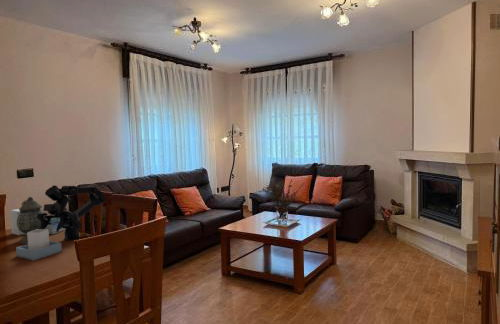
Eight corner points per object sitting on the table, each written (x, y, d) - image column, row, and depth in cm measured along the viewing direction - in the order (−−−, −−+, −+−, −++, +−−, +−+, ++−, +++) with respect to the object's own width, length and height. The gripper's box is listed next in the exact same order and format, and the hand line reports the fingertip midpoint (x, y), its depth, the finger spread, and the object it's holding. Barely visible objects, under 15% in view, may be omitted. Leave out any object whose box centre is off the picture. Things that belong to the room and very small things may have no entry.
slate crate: (45, 247, 174) (45, 239, 174) (61, 251, 167) (61, 242, 167) (16, 256, 162) (16, 247, 161) (32, 260, 155) (32, 251, 155)
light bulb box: (53, 234, 201) (51, 216, 200) (43, 233, 202) (42, 216, 201) (66, 229, 211) (65, 213, 210) (57, 229, 213) (56, 212, 212)
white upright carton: (37, 250, 168) (36, 229, 167) (49, 250, 168) (48, 229, 167) (28, 254, 162) (27, 232, 161) (41, 254, 161) (39, 232, 160)
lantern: (19, 245, 180) (15, 200, 179) (17, 239, 191) (14, 197, 190) (48, 239, 189) (45, 196, 187) (45, 234, 200) (42, 194, 198)
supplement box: (18, 235, 200) (16, 211, 199) (11, 233, 204) (9, 210, 203) (34, 231, 207) (32, 208, 206) (27, 230, 212) (26, 207, 211)
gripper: (35, 199, 177) (22, 225, 168) (66, 196, 174) (55, 222, 165) (49, 209, 186) (37, 234, 176) (78, 206, 183) (68, 232, 173)
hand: (49, 230), depth 172 cm, fingers open, 9 cm apart
